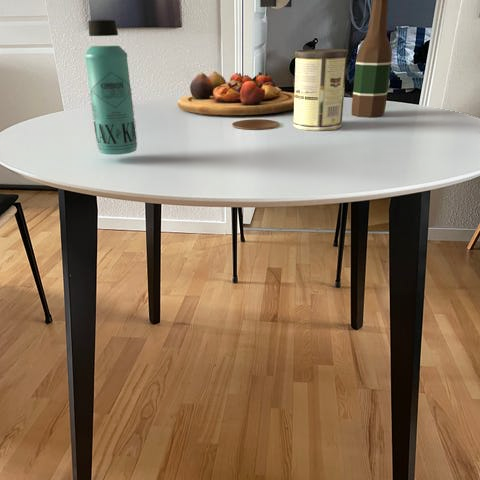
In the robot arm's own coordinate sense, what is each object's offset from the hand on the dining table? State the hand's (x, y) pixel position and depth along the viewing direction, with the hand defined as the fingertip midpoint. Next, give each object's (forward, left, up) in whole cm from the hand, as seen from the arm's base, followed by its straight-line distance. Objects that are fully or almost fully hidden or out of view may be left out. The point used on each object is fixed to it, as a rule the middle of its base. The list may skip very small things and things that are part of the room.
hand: (276, 6), depth 89 cm
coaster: (+7, -5, -21) cm, 23 cm away
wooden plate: (+21, -26, -22) cm, 40 cm away
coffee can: (-6, -9, -22) cm, 24 cm away
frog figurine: (0, 0, -1) cm, 1 cm away
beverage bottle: (+14, +31, -22) cm, 40 cm away
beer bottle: (-12, -27, -22) cm, 37 cm away
